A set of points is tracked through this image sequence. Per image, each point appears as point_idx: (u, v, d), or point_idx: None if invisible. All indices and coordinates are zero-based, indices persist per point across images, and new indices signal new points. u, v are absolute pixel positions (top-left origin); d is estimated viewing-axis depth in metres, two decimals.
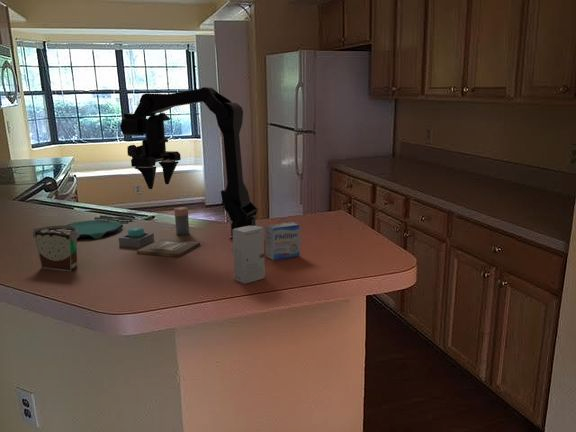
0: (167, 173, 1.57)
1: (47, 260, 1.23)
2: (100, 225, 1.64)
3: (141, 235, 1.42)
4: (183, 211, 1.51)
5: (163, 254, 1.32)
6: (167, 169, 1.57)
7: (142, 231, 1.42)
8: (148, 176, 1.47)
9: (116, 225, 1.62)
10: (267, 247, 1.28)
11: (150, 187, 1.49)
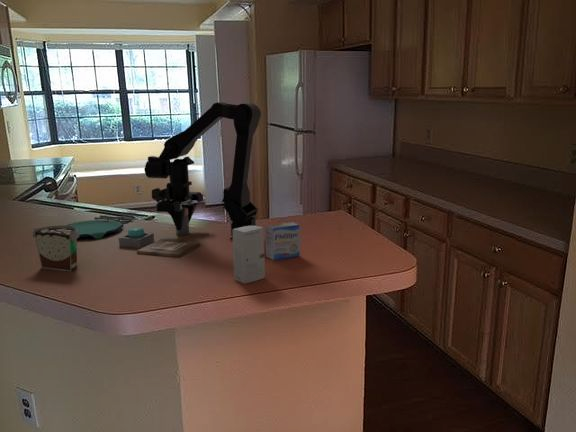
0: None
1: (47, 260, 1.23)
2: (100, 225, 1.64)
3: (141, 235, 1.42)
4: None
5: (163, 254, 1.32)
6: None
7: (142, 231, 1.42)
8: (177, 218, 1.50)
9: (116, 225, 1.62)
10: (267, 247, 1.28)
11: (178, 228, 1.52)
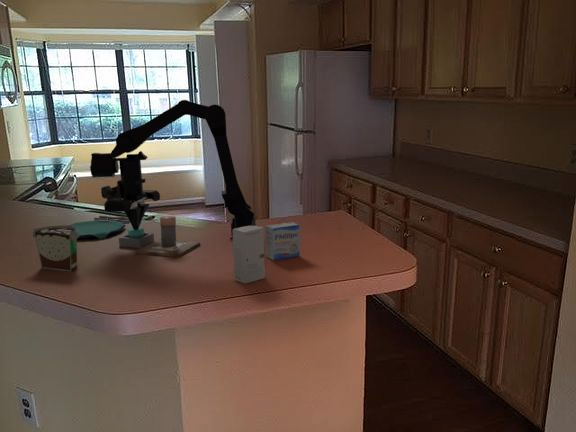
0: None
1: (47, 260, 1.23)
2: (102, 225, 1.63)
3: (141, 235, 1.42)
4: (170, 220, 1.35)
5: (163, 254, 1.32)
6: None
7: (142, 231, 1.42)
8: (133, 217, 1.41)
9: (118, 225, 1.62)
10: (267, 247, 1.28)
11: (135, 228, 1.42)
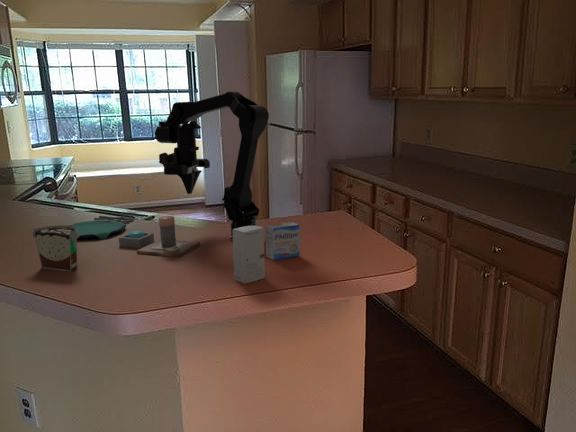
0: None
1: (47, 260, 1.23)
2: (102, 225, 1.63)
3: None
4: (170, 221, 1.35)
5: (163, 254, 1.32)
6: None
7: (142, 234, 1.43)
8: (187, 181, 1.53)
9: (119, 225, 1.62)
10: (267, 247, 1.28)
11: (189, 192, 1.55)
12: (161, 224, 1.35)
